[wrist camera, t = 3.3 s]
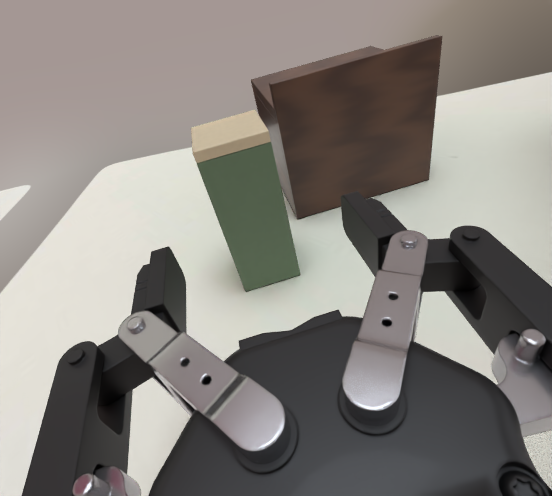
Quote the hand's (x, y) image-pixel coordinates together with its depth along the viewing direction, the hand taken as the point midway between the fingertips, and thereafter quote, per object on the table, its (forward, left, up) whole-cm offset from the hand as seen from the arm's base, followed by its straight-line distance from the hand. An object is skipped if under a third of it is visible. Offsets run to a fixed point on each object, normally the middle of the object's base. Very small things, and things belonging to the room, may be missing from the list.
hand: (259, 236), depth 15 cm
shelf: (-12, -24, -11) cm, 29 cm away
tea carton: (0, -11, -11) cm, 16 cm away
